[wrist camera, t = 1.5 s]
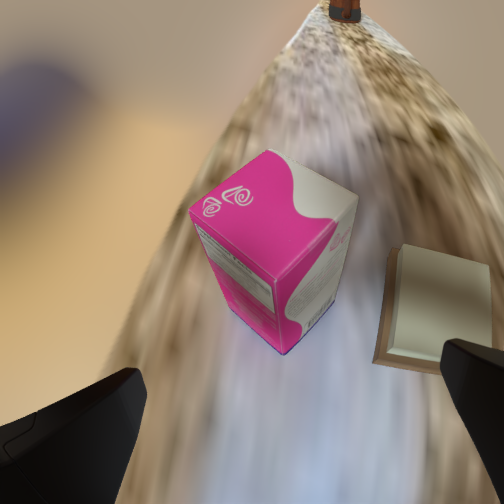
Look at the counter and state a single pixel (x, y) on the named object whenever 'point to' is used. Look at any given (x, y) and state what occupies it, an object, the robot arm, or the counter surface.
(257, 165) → the supplement box
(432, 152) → the counter surface
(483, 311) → the pedestal
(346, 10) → the banded dark cylinder
